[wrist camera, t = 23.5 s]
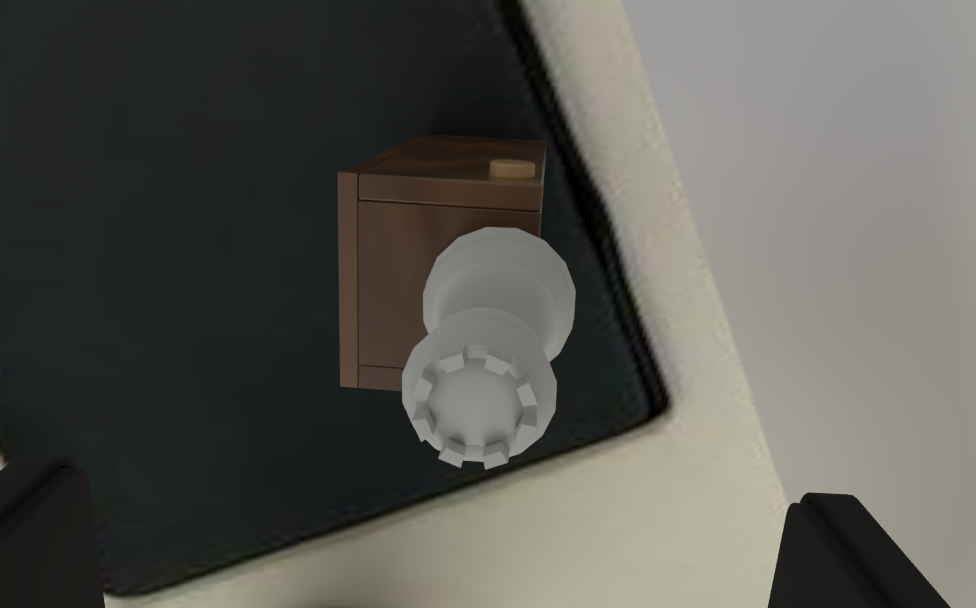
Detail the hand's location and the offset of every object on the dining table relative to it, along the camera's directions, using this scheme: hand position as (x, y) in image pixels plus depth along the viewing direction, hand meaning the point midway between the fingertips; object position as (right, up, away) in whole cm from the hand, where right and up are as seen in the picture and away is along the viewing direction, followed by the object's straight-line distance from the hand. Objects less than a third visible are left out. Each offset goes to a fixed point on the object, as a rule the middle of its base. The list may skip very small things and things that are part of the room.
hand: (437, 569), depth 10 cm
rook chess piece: (+1, +4, +12) cm, 13 cm away
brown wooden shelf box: (-3, +6, +20) cm, 21 cm away
